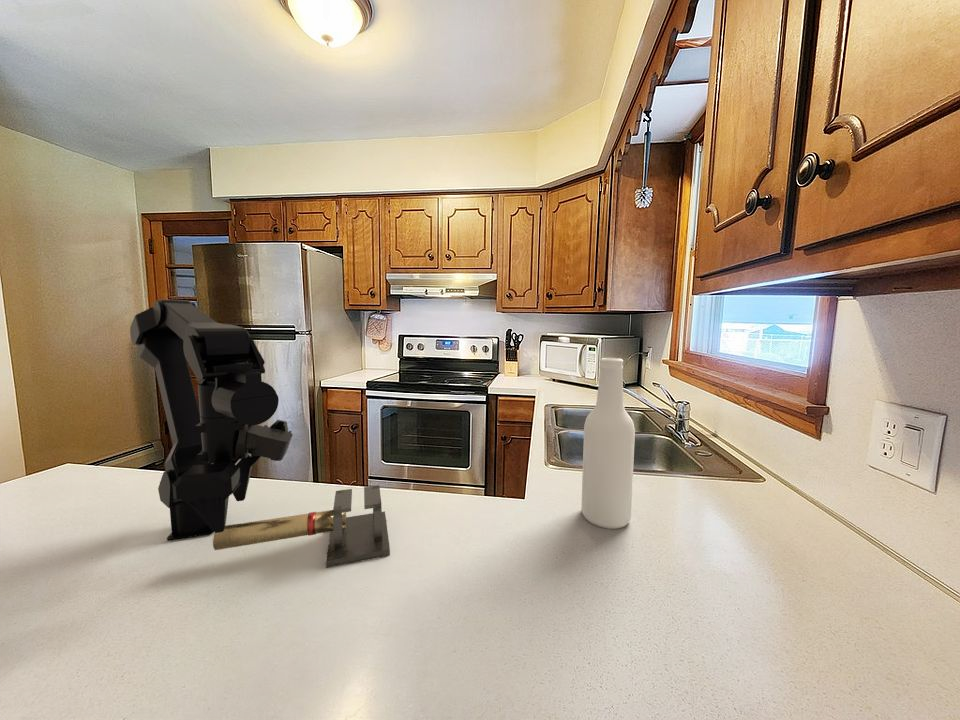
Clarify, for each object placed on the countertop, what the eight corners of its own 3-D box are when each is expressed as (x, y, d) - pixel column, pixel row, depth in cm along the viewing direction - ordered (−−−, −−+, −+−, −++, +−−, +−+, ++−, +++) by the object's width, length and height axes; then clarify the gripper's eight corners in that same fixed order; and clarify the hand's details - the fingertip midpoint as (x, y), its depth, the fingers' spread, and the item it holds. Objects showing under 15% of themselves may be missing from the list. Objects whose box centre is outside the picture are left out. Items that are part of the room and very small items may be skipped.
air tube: (213, 555, 52) (211, 533, 52) (222, 542, 55) (220, 521, 55) (345, 533, 57) (344, 513, 57) (346, 522, 61) (345, 503, 60)
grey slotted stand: (326, 567, 53) (324, 520, 52) (332, 524, 64) (330, 485, 63) (389, 555, 56) (389, 510, 55) (385, 516, 67) (384, 478, 66)
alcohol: (624, 536, 61) (632, 362, 58) (574, 520, 66) (579, 359, 63) (635, 514, 68) (642, 358, 65) (589, 501, 73) (594, 355, 70)
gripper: (271, 426, 46) (277, 541, 47) (296, 397, 63) (300, 481, 65) (165, 434, 42) (175, 557, 44) (223, 401, 60) (228, 490, 62)
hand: (231, 514), depth 54 cm, fingers open, 9 cm apart
